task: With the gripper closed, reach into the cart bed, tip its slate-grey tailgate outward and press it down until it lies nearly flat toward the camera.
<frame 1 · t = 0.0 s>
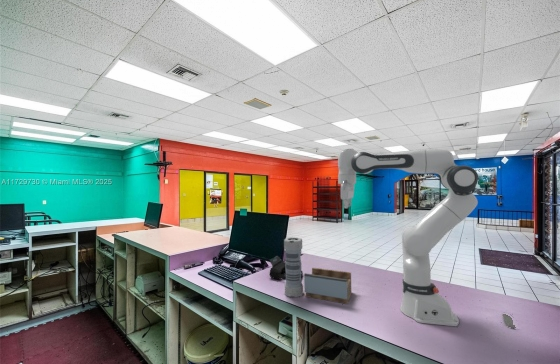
hand: (347, 207, 126), 48 cm above the counter, fingers open, 8 cm apart
virtual reality headset: (287, 277, 160), on the counter
canister: (294, 293, 134), on the counter
stone tool: (510, 322, 104), on the counter
cart bed: (328, 294, 132), on the counter
tailgate: (325, 285, 125), point 8 cm above the counter, hinge at 0.0°
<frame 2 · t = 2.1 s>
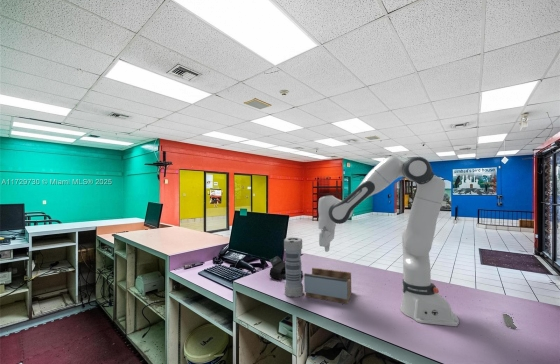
hand: (327, 251, 131), 24 cm above the counter, fingers closed
nothing on the counter moved.
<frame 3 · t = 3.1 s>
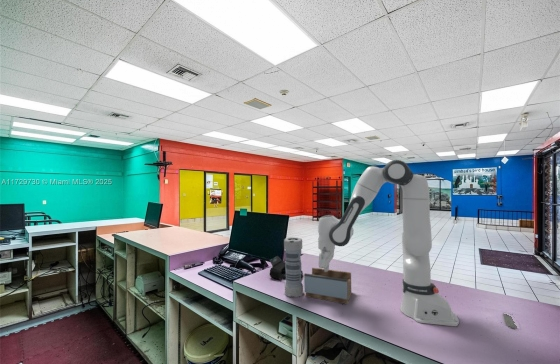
hand: (326, 271, 130), 13 cm above the counter, fingers closed
nothing on the counter moved.
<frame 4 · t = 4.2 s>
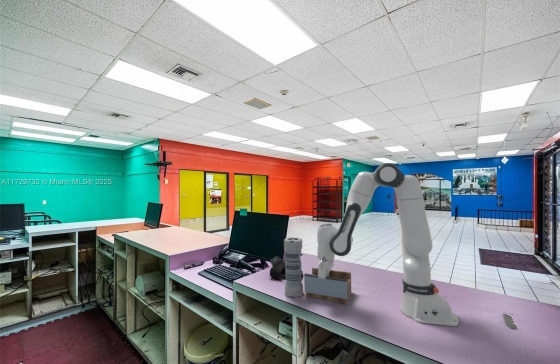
hand: (326, 281, 128), 9 cm above the counter, fingers closed
tailgate: (325, 285, 125), point 8 cm above the counter, hinge at 0.0°, touching gripper
everything else where it was.
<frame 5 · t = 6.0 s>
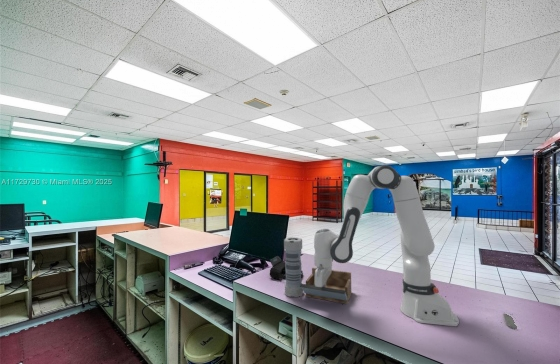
hand: (323, 289, 123), 7 cm above the counter, fingers closed
tailgate: (323, 292, 122), point 6 cm above the counter, hinge at 46.5°, touching gripper
everything else where it was.
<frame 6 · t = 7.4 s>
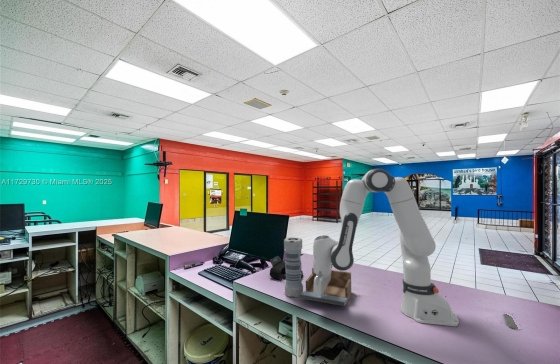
hand: (322, 296, 121), 4 cm above the counter, fingers closed
tailgate: (323, 297, 121), point 3 cm above the counter, hinge at 79.1°, touching gripper
everything else where it was.
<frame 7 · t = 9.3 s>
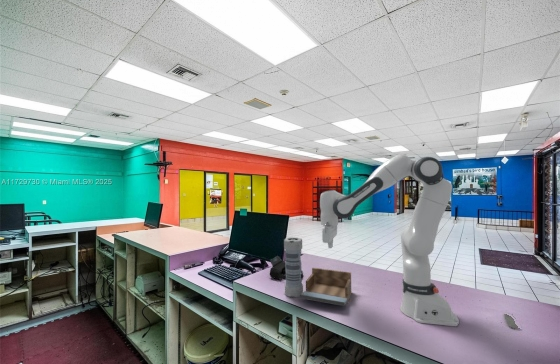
hand: (330, 247, 127), 27 cm above the counter, fingers closed
tailgate: (323, 297, 121), point 3 cm above the counter, hinge at 79.1°
everything else where it was.
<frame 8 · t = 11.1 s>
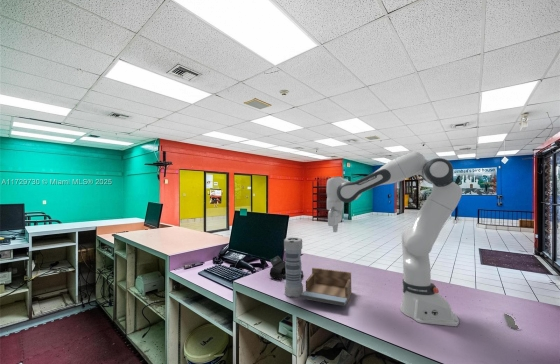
hand: (335, 231, 132), 34 cm above the counter, fingers closed
nothing on the counter moved.
at the end: tailgate at +79° (first picture: +0°); the gripper is holding nothing; canister moved 0.2 cm from its start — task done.
